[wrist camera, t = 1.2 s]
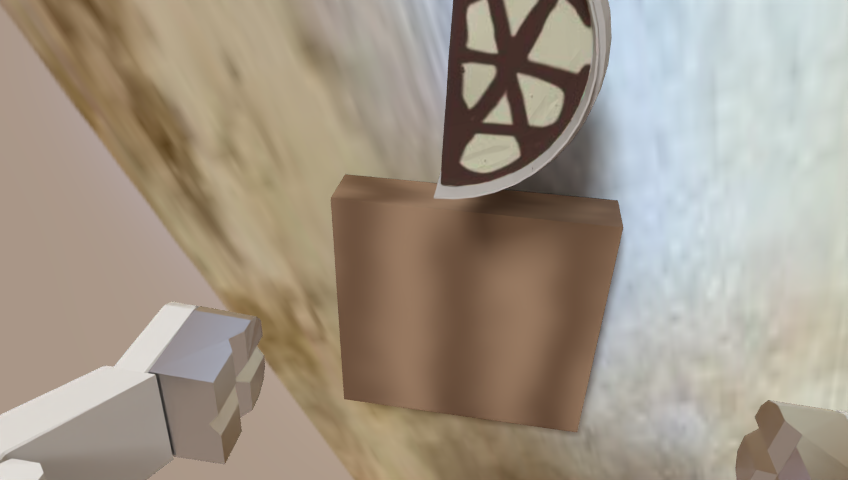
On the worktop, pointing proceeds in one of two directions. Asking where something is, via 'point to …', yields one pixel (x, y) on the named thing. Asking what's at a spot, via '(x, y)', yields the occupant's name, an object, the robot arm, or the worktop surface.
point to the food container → (518, 88)
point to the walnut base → (471, 298)
